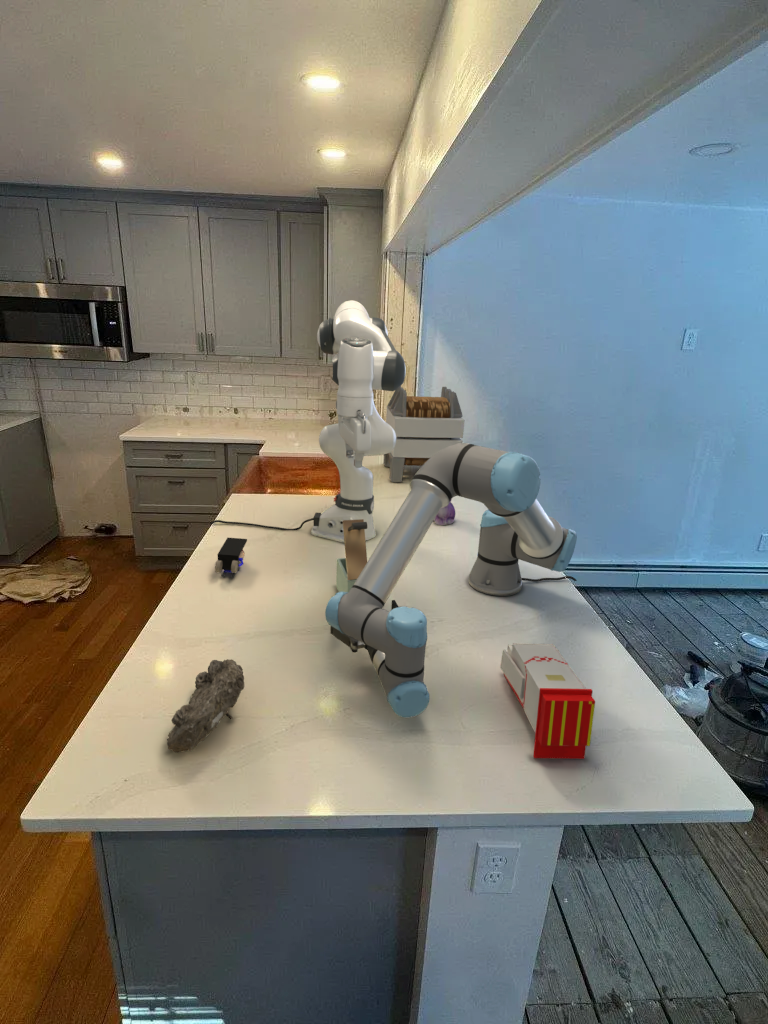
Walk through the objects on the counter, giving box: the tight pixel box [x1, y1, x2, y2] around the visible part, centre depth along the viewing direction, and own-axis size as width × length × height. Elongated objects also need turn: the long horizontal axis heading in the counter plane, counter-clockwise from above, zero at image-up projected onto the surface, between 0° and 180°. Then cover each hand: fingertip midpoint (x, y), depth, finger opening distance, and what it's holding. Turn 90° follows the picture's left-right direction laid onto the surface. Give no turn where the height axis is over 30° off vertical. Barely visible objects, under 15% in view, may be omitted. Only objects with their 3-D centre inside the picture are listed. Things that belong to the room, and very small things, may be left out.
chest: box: [335, 557, 357, 593], centre depth 153 cm, size 15×5×9 cm, turn 16°
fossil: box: [166, 658, 245, 754], centre depth 106 cm, size 22×10×15 cm
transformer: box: [383, 385, 465, 483], centre depth 268 cm, size 34×33×41 cm
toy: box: [499, 642, 596, 760], centre depth 113 cm, size 12×13×30 cm
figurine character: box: [214, 537, 248, 578], centre depth 166 cm, size 7×8×15 cm
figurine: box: [433, 498, 456, 526], centre depth 211 cm, size 9×10×15 cm
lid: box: [343, 519, 368, 580], centre depth 143 cm, size 15×5×8 cm
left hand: (353, 462), depth 143 cm, fingers open, 8 cm apart
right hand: (365, 607), depth 137 cm, fingers open, 13 cm apart
